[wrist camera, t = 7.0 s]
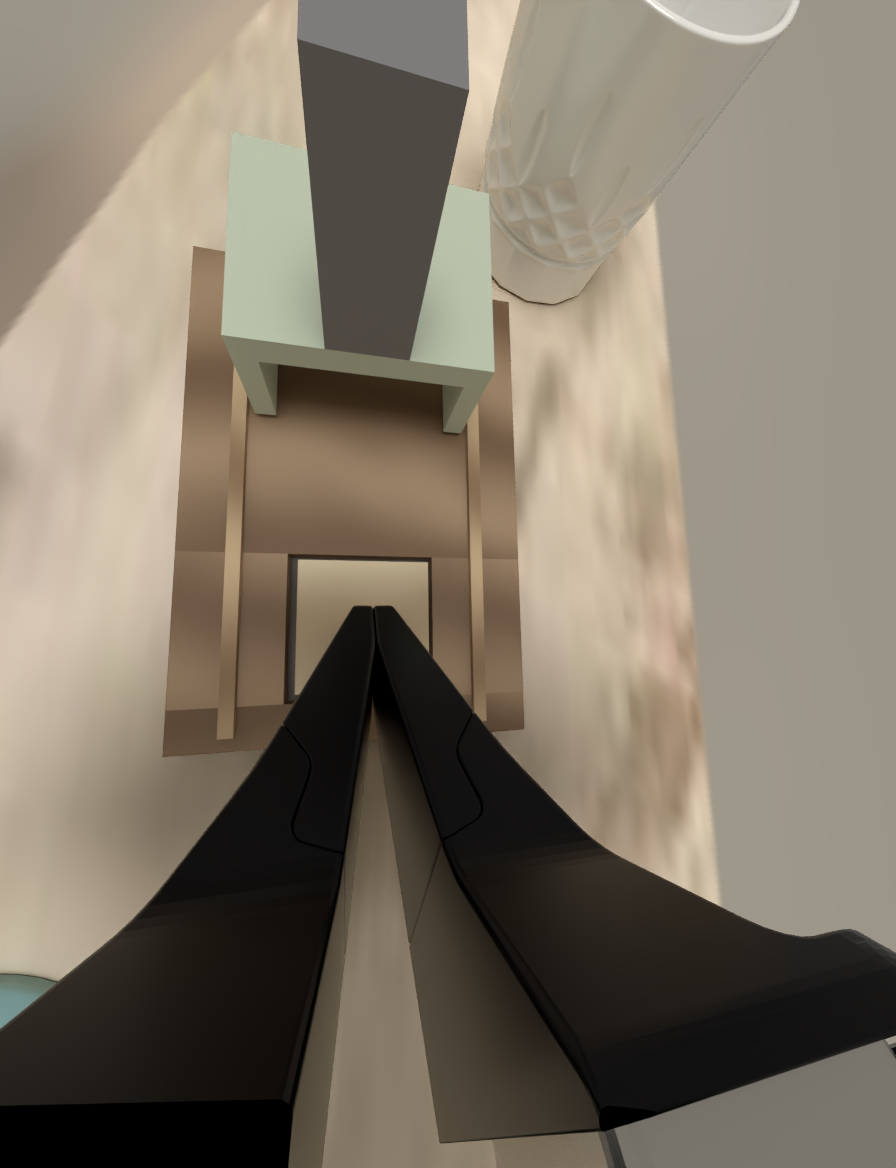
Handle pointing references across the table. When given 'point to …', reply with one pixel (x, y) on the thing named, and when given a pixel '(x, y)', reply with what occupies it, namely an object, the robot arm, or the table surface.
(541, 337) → the table surface
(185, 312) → the table surface
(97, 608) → the table surface
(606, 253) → the white cup
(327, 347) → the sliding cover
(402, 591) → the block
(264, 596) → the puzzle board
